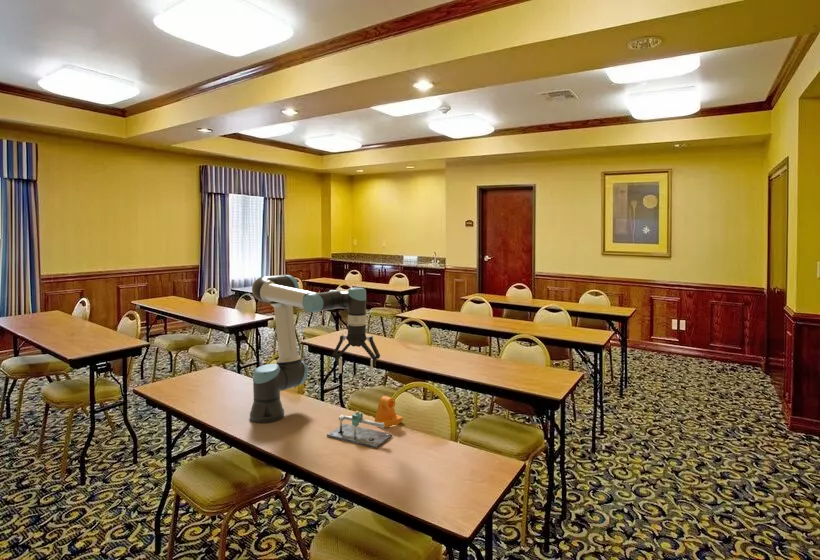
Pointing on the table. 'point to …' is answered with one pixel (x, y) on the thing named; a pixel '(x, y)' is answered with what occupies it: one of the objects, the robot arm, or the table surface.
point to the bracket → (387, 412)
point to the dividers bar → (360, 422)
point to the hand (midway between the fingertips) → (355, 373)
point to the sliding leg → (356, 419)
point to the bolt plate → (360, 436)
